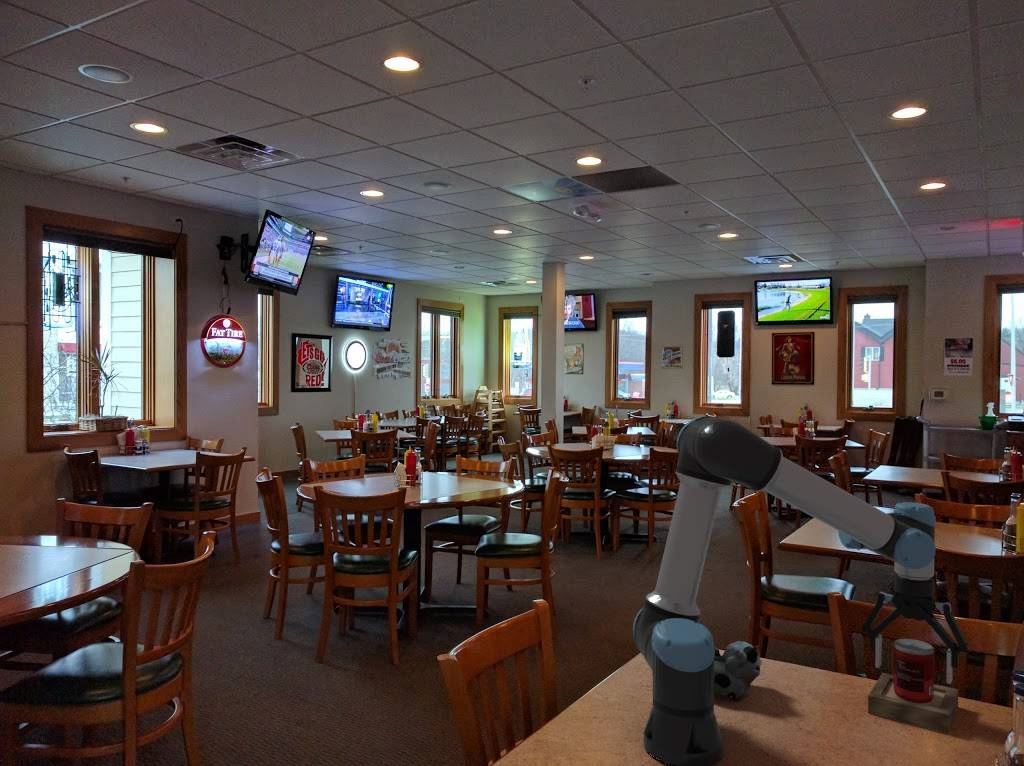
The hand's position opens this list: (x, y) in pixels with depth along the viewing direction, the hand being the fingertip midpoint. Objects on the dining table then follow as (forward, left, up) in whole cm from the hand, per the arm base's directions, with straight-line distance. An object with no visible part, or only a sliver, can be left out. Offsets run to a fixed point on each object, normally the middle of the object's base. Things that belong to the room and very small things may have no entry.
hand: (913, 673), depth 159 cm
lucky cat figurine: (-36, -14, -8) cm, 39 cm away
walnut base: (0, 0, -8) cm, 8 cm away
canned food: (0, 0, -5) cm, 5 cm away
